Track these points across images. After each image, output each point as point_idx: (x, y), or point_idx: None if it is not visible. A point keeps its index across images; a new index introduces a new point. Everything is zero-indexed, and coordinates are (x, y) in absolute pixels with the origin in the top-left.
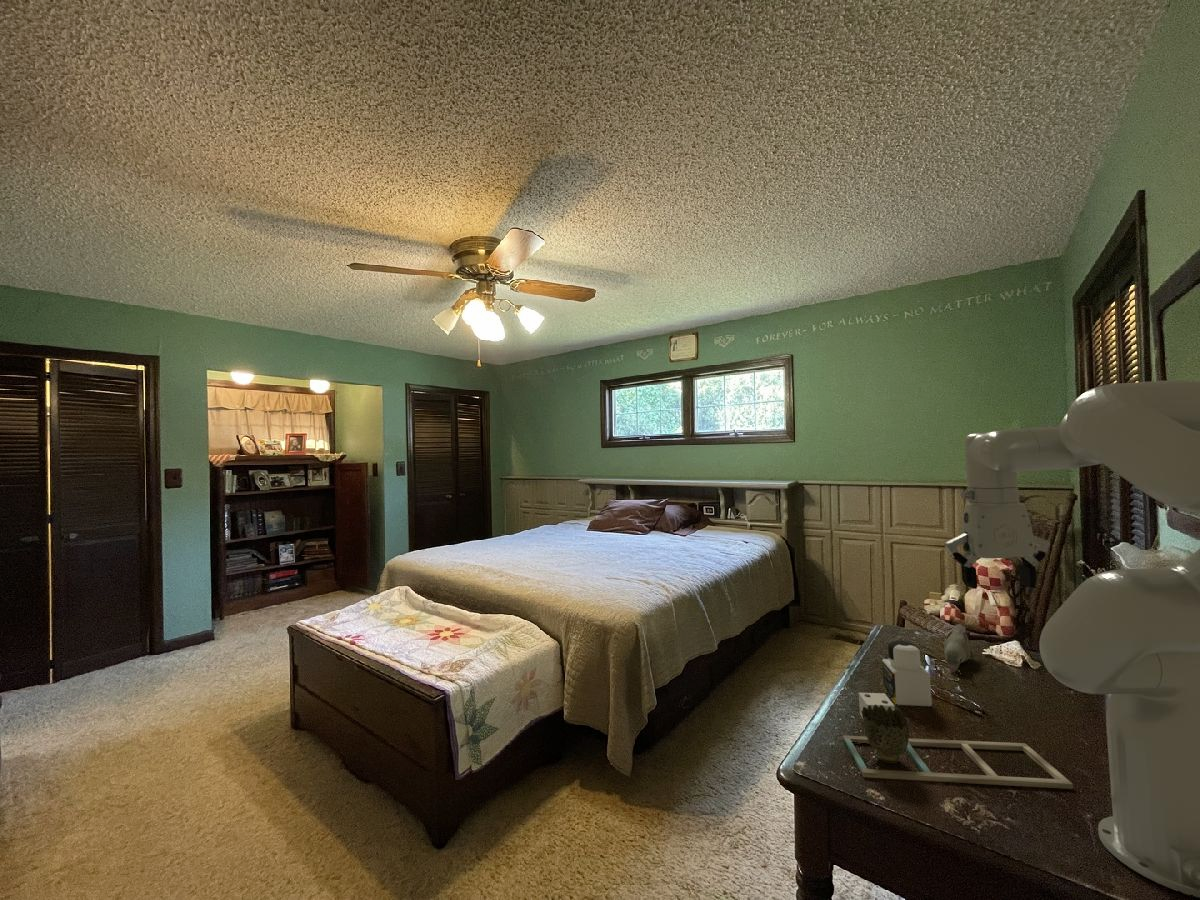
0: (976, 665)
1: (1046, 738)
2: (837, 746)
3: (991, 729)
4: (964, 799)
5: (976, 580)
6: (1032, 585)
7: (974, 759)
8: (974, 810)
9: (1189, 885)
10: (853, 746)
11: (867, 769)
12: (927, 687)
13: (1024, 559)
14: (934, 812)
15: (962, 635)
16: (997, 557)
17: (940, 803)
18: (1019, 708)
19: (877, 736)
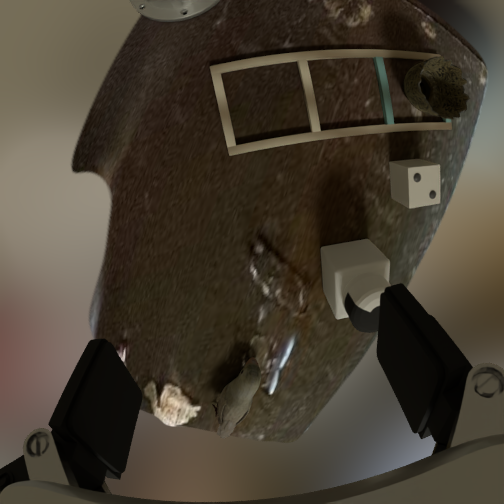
0: (216, 380)
1: (191, 193)
2: None
3: (258, 197)
4: (347, 22)
5: (403, 314)
6: (98, 344)
7: (314, 96)
8: (341, 7)
9: None
10: None
11: None
12: (333, 258)
13: (90, 489)
14: (380, 3)
15: (225, 418)
16: (326, 496)
17: (372, 15)
18: (197, 274)
19: (444, 69)
